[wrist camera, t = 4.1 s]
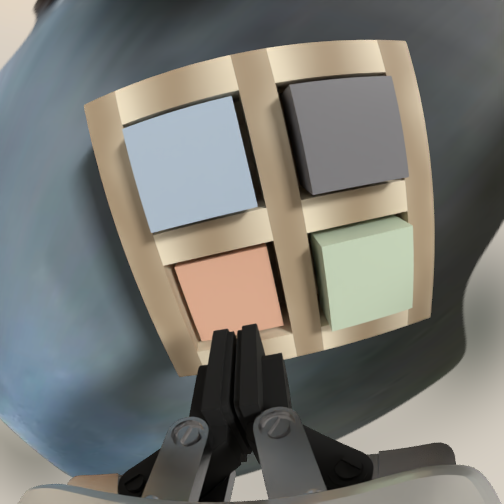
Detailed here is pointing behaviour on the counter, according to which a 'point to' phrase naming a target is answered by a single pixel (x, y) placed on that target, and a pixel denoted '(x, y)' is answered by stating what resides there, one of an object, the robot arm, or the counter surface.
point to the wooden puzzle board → (266, 191)
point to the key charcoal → (345, 132)
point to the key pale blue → (190, 165)
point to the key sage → (364, 270)
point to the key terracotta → (230, 290)
